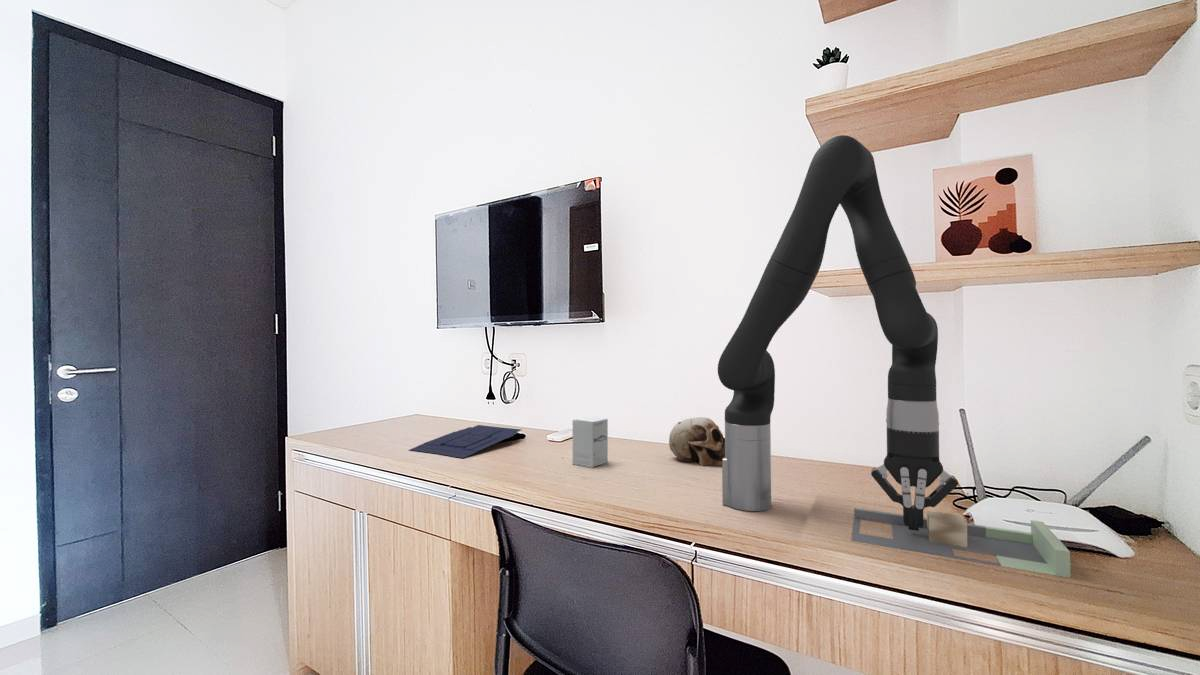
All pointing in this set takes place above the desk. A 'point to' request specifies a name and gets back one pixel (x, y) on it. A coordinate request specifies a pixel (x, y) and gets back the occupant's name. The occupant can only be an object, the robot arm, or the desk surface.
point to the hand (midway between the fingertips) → (913, 528)
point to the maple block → (946, 528)
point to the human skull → (698, 441)
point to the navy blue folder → (466, 441)
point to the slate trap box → (977, 543)
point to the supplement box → (590, 441)
